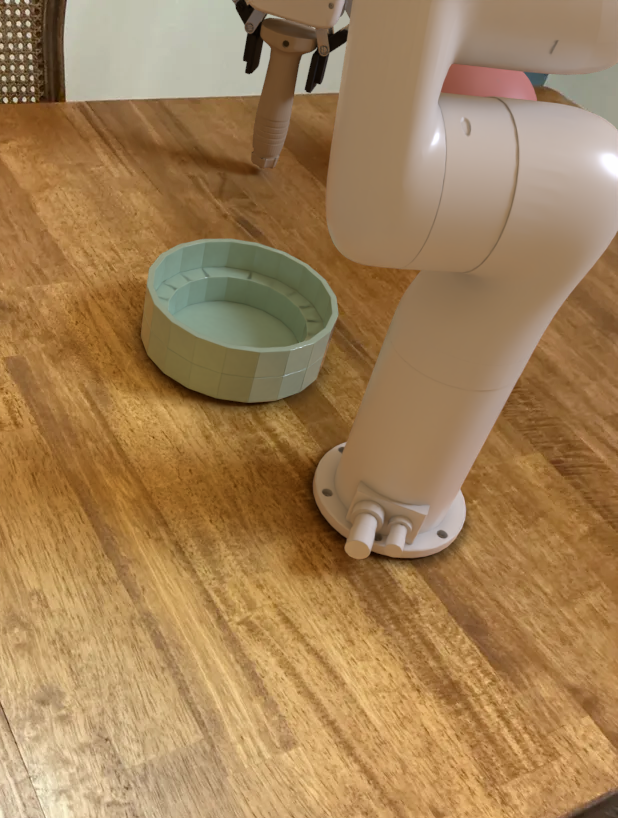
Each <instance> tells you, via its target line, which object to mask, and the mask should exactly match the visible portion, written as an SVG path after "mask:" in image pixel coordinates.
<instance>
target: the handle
mask: <svg viewBox="0 0 618 818" xmlns="http://www.w3.org/2000/svg"><path fill="white" fill-rule="evenodd" d="M260 36H261V38H262V39H263V40H264V41H263V43H266V45H267V46H268V47H269V48H270V51H269V52H270V53H269V59H268V64H267V69H266V73H265V76H264V81H263V85H262V89H261V93H260V97H259V99H258V100H259V101H258V104H257V108H256V113H255V118H254V125H253V130H252V131H253V132H252V150H253V151H251V153H250V161H251V163H252V164H253V165H256V166H257V167H258V168H260V169H263V170H264V169H274V168H276V166H277V164H278V161H279V158H280V156H281V153H282V150H283V147H284V145H285V142H286V139H287V136H288V133H289V127H290V122H291V118H292V111H293V104H294V99H295V91H296V86H297V80H298V74H299V68H300V63H301V60H302V58H303V56H304V55H306V54H310V53H312V52H315V51H316V50H317V46H318V44H317V37H316V30H315V28H314V27H310V26H307V25H303V24H300V23H296V22H293V21H290V20H286V19H283V18H280V17H266V18H265V19H264V20H263V21H262V25H261V31H260Z"/></svg>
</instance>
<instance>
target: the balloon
mask: <svg viewBox="0 0 618 818" xmlns="http://www.w3.org/2000/svg"><path fill="white" fill-rule="evenodd" d="M525 73H526V72H522V71H514V70H505V69H496V68H487V67H478V66H469V65H461V64H452V65H451V66H450V68H449V70H448V72H447V75H446V77H445V80H444V82H443V86H442V89H441V93H451V94H461V95H470V96H480V97H490V96H496V97H505V98H515V99H524V100H533V101H538V97H537V94H536V91H535V88H534V86H533V84H532V82H531V80H530V78H529V77H528V76H527V74H525Z"/></svg>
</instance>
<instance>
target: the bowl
mask: <svg viewBox="0 0 618 818" xmlns="http://www.w3.org/2000/svg"><path fill="white" fill-rule="evenodd" d="M338 307H339V305H338V299H337V296H336V294H335V292H334V290H333V289H332V287H331V285H330V284H329V283H328V281H327V280H326V278H324V277H323V276H322V275H321V274H320V273H318V272H317V271H316V269H314V268H313V267H311V266H310V265H309V264H308V263H306V262H304V261H302V260H300V259H299V258H297V257H295V256H294V255H292V254H290V253H288V252H286V251H283V250H281V249H277V248H275V247H271V246H268V245H266V244H262V243H259V242H254V241H249V240H242V239H237V238H236V239H235V238H200V239H196V240H191V241H188V242H182V243H178V244H177V245H175V246H173V247H170V248H169V249H167V250H165V251H163V252H162V253H160V254H159V255H158V256H157V258H155V260H154V261H153V263H152V264H151V265H150V267H148V272H147V279H146V286H145V296H144V304H143V311H142V320H141V328H140V330H141V331H140V339H141V341H142V344H143V346H144V349H145V352H146V354H147V356H148V358H149V359H150V360H151V361H152V362H153V363H154V364H155V366H156V367H158V369H159V370H160V371H161V372H162V373H163V374H165V375H166V376H168V377H170V379H172V380H174V381H176V382H177V383H178V384H179V385H182V386H183V387H185V388H187V389H189V390H191V391H193V392H194V391H195V392H197V393H200V394H202V395H205V396H209V397H211V398H214V399H218V400H224V401H233V402H240V403H246V404H247V403H248V404H250V403H251V404H252V403H263V402H276V401H278V400H282V399H285V398H288V397H291V396H293V395H297V394H299V393H301V392H303V391H304V390H305V389H307V388H308V387H309V386H310V385H312V383H314V382H315V381H316V380H317V378H318V376H319V374H320V372H321V370H322V367H323V365H324V363H325V361H326V360H325V359H326V356H327V354H328V350H329V347H330V343H331V340H332V337H333V334H334V332H335V328H336V325H337V322H338V318H339V308H338Z"/></svg>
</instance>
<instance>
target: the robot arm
mask: <svg viewBox="0 0 618 818" xmlns="http://www.w3.org/2000/svg"><path fill="white" fill-rule="evenodd" d="M231 1H232V3H234V6H235V10H236V13H237V14H238V16H239V18H240V20H241V21H242V23H243V26H244V32H246V39H245V45H244V50H243V56H242V61H243V62H245V63H246V64H245V68H244V69H245V70H244V73H245V74H247V75H251V74H253V73H254V72H255V71H256V70H257V69H258V68H259V66H260V61H261V57H262V52H263V47H264V40H263V39H262V38H261V36H260V31H261V25H262V21H263V20H264V19H266V18H267V17H268V15H270V16H273V17H276V18H279V19H286V20H290V21H293V22H296V23H300V24H303V25H307V26H310V27H312V28H314V29H315V30H316V37H317V44H318V46H317V48H316V49H315V50H314V51H313V53H312V55H311V58H310V59H311V60H310V63H309V68H308V72H307V76H306V80H305V86H304V91H305V93H308V94H311V93H312V92H313V90H314V89H315V88H316V86H317V85H321V84H322V83H323V81H324V77H325V73H326V69H327V66H328V62H329V57H330V53H332V52H334V51H335V50H336V49H338V48H339V47H341V46H343V45H344V44H345V50H344V57H343V64H342V70H341V78H340V84H339V90H338V97H337V105H336V111H335V112H336V113H335V118H334V124H333V125H334V126H333V130H332V131H333V132H332V137H331V143H330V152H329V160H328V166H327V175H326V184H325V185H326V186H325V219H326V227H327V231H328V234H329V237H330V240H331V242H332V244H333V245H334V248H336V250H337V251H338V252H339V253H340V254H341V255H342V256H343V257H344V258H346V259H347V260H350V261H351V262H353V263H356V264H359V265H363V266H368V267H375V268H382V269H383V268H384V269H397V270H407V271H408V270H410V271H419V272H418V273H417V274H416V276H415V277H413V279H412V281H411V282H410V284H409V285H408V286H407V287H406V290H405V291H404V293H403V294H402V295H401V297H400V299H399V301H398V304H397V306H396V308H395V310H394V313H393V316H392V318H391V320H390V323H389V326H388V328H387V331H386V334H385V337H384V339H383V341H382V345H381V347H380V350H379V353H378V355H377V358H376V361H375V364H374V367H373V369H372V372H371V374H370V377H369V379H368V382H367V385H366V388H365V390H364V392H363V396H362V399H361V401H360V405H359V407H358V410H357V412H356V415H355V418H354V420H353V423H352V426H351V428H350V431H349V434H348V436H347V439H346V441H345V442H342V443H339V444H338V445H335V446H333V447H332V448H331V449H330V450H328V451H327V452H326V453H325V454H324V455H323V456H322V458H321V459H320V460H319V462H318V465H317V467H316V469H315V472H314V476H313V480H312V494H313V497H314V500H315V504H316V506H317V507H318V509H319V511H320V514H321V515H322V516H323V518H324V519H325V520H326V521H327V523H328V524H329V525H330V526H331V527H332V528H333V529H334V530H335V531H336V532H338V533H339V535H341V536H342V537H344V538H345V539H346V541H345V544H344V547H343V548H344V551H345V554H346V555H348V556H349V557H351V558H353V559H356V560H364V559H367V558H369V556H370V554H371V552H374V553H376V554H380V555H382V556H386V557H390V558H395V559H396V558H398V559H399V558H400V559H417V558H424V557H428V556H431V555H434V554H438V553H439V552H441V551H443V550H445V549H446V548H448V547H449V546H451V544H453V542H454V541H455V540H456V539H457V537H458V535H460V532H461V530H462V529H463V527H464V523H465V521H466V515H467V506H466V502H465V497H464V495H463V492H462V490H461V488H462V487H463V485H464V482H465V480H466V478H467V477H468V475H469V472H470V471H471V469H472V468H473V465H474V464H475V462H476V460H477V457H478V456H479V454H480V452H481V451H482V448H483V446H484V444H485V442H486V441H487V439H488V437H489V435H490V433H491V431H492V430H493V428H494V425H495V424H496V422H497V420H498V418H499V416H500V415H501V412H502V410H503V409H504V407H505V405H506V403H507V401H508V399H509V397H510V395H511V394H512V392H513V390H514V388H515V386H516V385H517V382H518V381H519V378H521V376H522V374H523V372H524V369H526V366H527V364H528V362H529V360H530V359H531V357H532V356H533V353H534V351H535V349H536V347H538V344H539V343H540V341H541V340H542V339H541V338H542V337H543V335H544V333H545V332H546V330H547V328H548V327H549V325H550V324H551V322H552V320H553V318H554V317H555V316H556V315H557V313H558V311H559V310H560V308H561V307H562V306H563V304H564V303H565V301H566V300H567V299H568V298H569V296H570V295H571V294H572V292H573V291H574V290H575V288H576V287H577V286H578V285H579V284H580V283H581V281H582V280H583V279H584V278H585V277H586V275H587V274H588V273H589V272H590V271H591V269H592V268H593V267H594V266H595V265H596V263H597V262H598V261H599V259H600V258H601V257H602V256H603V254H604V253H605V251H606V250H607V249H608V247H609V246H610V244H611V243H612V241H613V240H614V238H615V237H616V235H617V233H618V128H616V126H615V125H614V124H612V123H611V122H610V121H608V120H607V119H606V118H604V117H602V116H600V115H599V114H597V113H594V112H593V111H590V110H586V109H584V108H581V107H577V106H574V105H570V104H569V105H568V104H564V103H559V102H550V101H541V100H537V101H533V100H524V99H515V98H505V97H496V96H490V97H480V96H470V95H461V94H451V93H441V89H442V86H443V82H444V80H445V77H446V75H447V72H448V70H449V68H450V66H451V65H452V64H461V65H469V66H478V67H487V68H496V69H505V70H514V71H522V72H524V73H534V74H545V75H560V76H562V75H563V76H570V75H572V76H575V75H588V74H594V73H599V72H603V71H605V70H608V69H610V68H612V67H614V66H615V65H617V64H618V0H231ZM344 13H346V15H347V16H348V18H349V23H348V24H346V25H345V26H343V27H341V28H340V29H339V30H337V31H336V32H335V28H334V26H335V25H336V24H338V22H339V20H340V18H341V17H342V16H343V15H344Z"/></svg>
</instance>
